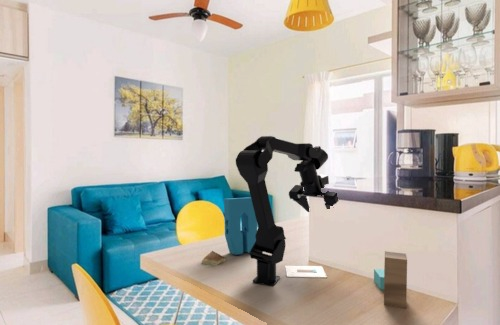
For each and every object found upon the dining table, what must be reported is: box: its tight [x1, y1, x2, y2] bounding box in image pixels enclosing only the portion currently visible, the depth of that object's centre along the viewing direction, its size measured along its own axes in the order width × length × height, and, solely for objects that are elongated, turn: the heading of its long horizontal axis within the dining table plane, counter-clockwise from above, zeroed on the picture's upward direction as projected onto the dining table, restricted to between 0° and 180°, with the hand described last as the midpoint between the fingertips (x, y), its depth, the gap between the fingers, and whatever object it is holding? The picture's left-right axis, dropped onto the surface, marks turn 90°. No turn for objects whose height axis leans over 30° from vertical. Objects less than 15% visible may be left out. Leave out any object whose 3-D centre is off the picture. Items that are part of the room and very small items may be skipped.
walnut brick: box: [383, 251, 408, 309], centre depth 81 cm, size 5×5×12 cm
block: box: [223, 196, 258, 256], centre depth 120 cm, size 12×5×20 cm, turn 123°
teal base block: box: [373, 268, 384, 291], centre depth 91 cm, size 6×6×4 cm
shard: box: [201, 250, 227, 266], centre depth 113 cm, size 11×8×2 cm
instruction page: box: [284, 265, 328, 279], centre depth 101 cm, size 9×12×1 cm
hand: (319, 213), depth 116 cm, fingers open, 9 cm apart
